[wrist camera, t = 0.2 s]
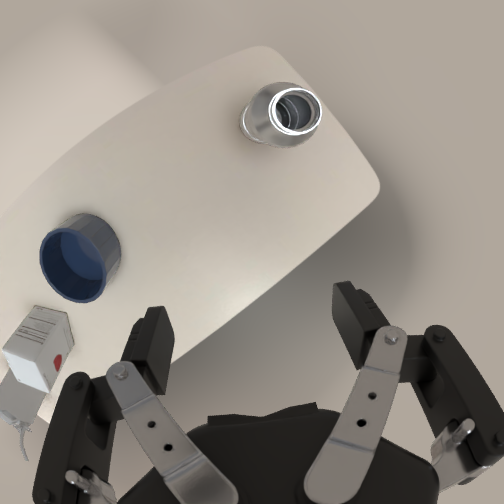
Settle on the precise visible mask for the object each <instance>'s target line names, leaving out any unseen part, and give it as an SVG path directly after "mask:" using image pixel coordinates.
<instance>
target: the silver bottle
mask: <svg viewBox="0 0 504 504" xmlns="http://www.w3.org/2000/svg"><path fill="white" fill-rule="evenodd" d="M321 117H322V107H321V104H320V102H319V100H318V99H317V97H316V96H315V95H314V94H313V93H311V92H309V91H308V90H306V89H304V88H302V87H301V86H298V85H296V84H293V83H288V82H277V83H272V84H269V85H267V86H265V87H263V88H262V89H260V90H259V91H258V92H257V93H256V94H255V95H254V96H253V98H252V100H251V101H250V102H249V103H247V104H246V105H245V106H244V108H243V109H242V111H241V114H240V119H239V122H240V127H241V130H242V132H243V133H244V134H245V136H246V137H247V138H249V139H250V140H252V141H254V142H257V143H261V144H268V145H270V146H274V147H278V148H291V147H296V146H298V145H301V144H303V143H304V142H306V141H307V140H308V139H309V138H310V137H311V136H312V135H313V134H314V132H315V131H316V129H317V126H318V124H319V122H320V120H321Z"/></svg>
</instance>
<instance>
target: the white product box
mask: <svg viewBox="0 0 504 504" xmlns="http://www.w3.org/2000/svg"><path fill="white" fill-rule="evenodd" d="M73 346H74V342H73V338H72V335H71V331H70V327H69V323H68V319H67V315H66V313H64V312H59V311H55V310H51V309H47V308H42V307H38V306H35V307H34V308H33V309H32V310H31V312H30V313H29V314H28V315H27V316H26V318H25V319H24V320H23V322H22V323H21V324H20V325H19V327H18V328H17V329H16V330H15V332H14V333H13V334H12V336H11V337H10V338H9V340H8V341H7V342H6V344H5V345H4V346H3V348H2V351H3V353H4V355H5V357H6V360H7V362H8V364H9V367H10V368H11V370H12V372H13V374H14V376H15V377H16V379H17V381H19V382H21V383H24V384H26V385H29V386H31V387H34V388H36V389H38V390H41V391H43V392H47V393H50V391H51V389H52V387H53V385H54V383H55V381H56V379H57V377H58V374H59V372H60V370H61V368H62V367H63V365H64V363H65V361H66V359H67V357H68V355H69V353H70V351H71V349H72V347H73Z"/></svg>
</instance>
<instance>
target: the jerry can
mask: <svg viewBox="0 0 504 504" xmlns="http://www.w3.org/2000/svg"><path fill="white" fill-rule="evenodd" d="M45 395H46V392H43V391H41V390H38V389H36V388H34V387H31V386H29V385H26V384H24V383H21V382H19V381H17V379H16V377H15V376H14V374H13V372H12V370H11V368H10V369H9V371H8V372H7V374H6V376H5V377H4V379H3V381H2V382H1V384H0V417H1V418H2V419H3V420H4V421H6V422H7V423H8V424H10V425H13V426H14V425H16V426H14V427H15V428H16V429H17V430H18V432H19V433H20V447H21V451H22V453H23V456H24V458H25V460H26V461H28V458H27V455H26V452H25V449H24V446H23V436H24V433H25V430H27V431H30V428H29V427H28V426H30V425H31V424H32V423H33V422H34V419H35V417H36V415H37V412H38V410H39V408H40V405H41V403H42V401H43V399H44V397H45ZM14 423H17V424H19V425H17V424H14ZM21 427H22V428H21ZM28 429H29V430H28ZM30 432H32V431H30Z"/></svg>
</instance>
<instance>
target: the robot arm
mask: <svg viewBox="0 0 504 504" xmlns="http://www.w3.org/2000/svg"><path fill="white" fill-rule="evenodd" d="M332 316H333V320H334V323H335V325H336V326H337V329H338V331H339V333H340V335H341V337H342V339H343V342H344V344H345V346H346V348H347V350H348V352H349V354H350V356H351V359H352V361H353V363H354V365H355V368H356V369H357V370H359V369H361V370H360V372H359V375H358V377H357V379H356V382H355V384H354V386H353V389H352V391H351V393H350V395H349V398H348V400H347V402H346V404H345V406H344V408H343V411H342V413H339V412H336V411H331V410H325V409H318V408H317V405H316V402H313V403H308V404H304V405H298V406H292V407H288V408H285V409H283V410H280V411H278V412H275V413H272V414H270V415H267V416H264V417H256V416H246V415H237V414H229V415H216V416H208V423H207V424H204V425H201V426H198V427H196V428H194V429H192V430H191V431H189V432H188V433H187V434H185V433H184V431H183V430H182V429H181V428H180V427H179V425H178V424H177V423H176V422H175V420H174V419H173V418H172V417H171V415H170V414H169V413H168V411H167V410H166V409H165V407H164V406H163V405H162V403H161V402H160V401H159V399H158V398H157V397H156V396H157V395H165V392H166V386H167V380H168V374H169V369H170V363H171V358H172V353H173V347H174V341H175V338H174V332H173V328H172V326H171V323H170V320H169V317H168V314H167V311H166V309H165V307H164V306H157V307H149V308H148V309H147V312H146V314H145V317H144V318H140V319H139V320H138V321H137V322H136V323H135V324H134V325H133V328H132V330H131V335H130V336H129V338H128V341H127V344H126V346H125V349H124V352H123V355H122V357H121V360H120V362H117V363H115V364H113V365H112V366H111V367H110V368H109V369H108V371H107V373H106V375H105V376H101V377H97V378H93V379H90V377H89V376H88V375H87V374H86V373H84V372H76V373H73V374H71V375H70V376H69V377H68V378H67V379H66V380H65V382H64V385H63V387H62V390H61V393H60V396H59V398H58V401H57V404H56V407H55V410H54V413H53V416H52V419H51V422H50V425H49V428H48V431H47V435H46V438H45V441H44V445H43V449H42V452H41V456H40V460H39V464H38V468H37V473H36V477H35V481H34V486H33V492H32V497H33V501H34V503H35V504H437V500H438V495H439V493H441V492H443V491H444V490H447V489H449V488H450V487H452V486H454V485H456V484H458V485H464V484H467V483H469V482H471V481H472V480H473V479H475V478H476V477H477V476H479V475H480V474H482V473H483V472H484V471H486V470H487V469H488V468H490V467H491V466H492V465H493V464H495V463H496V462H497V461H499V460H500V459H501V458H502V457H503V456H504V412H503V410H502V408H501V407H500V405H499V403H498V402H497V400H496V398H495V396H494V395H493V393H492V392H491V390H490V388H489V387H488V385H487V384H486V382H485V380H484V379H483V377H482V375H481V374H480V372H479V371H478V369H477V368H476V366H475V365H474V363H473V362H472V360H471V359H470V358H469V356H468V354H467V353H466V352H465V350H464V349H463V348H462V346H461V345H460V343H459V342H458V340H457V339H456V338H455V336H454V335H453V333H452V332H451V331H450V330H449V329H448V328H446V327H444V326H441V325H432V326H430V327H428V328H427V329H426V331H425V333H424V335H406V333H405V332H404V331H403V330H402V329H401V328H399V327H396V326H391V325H390V323H389V322H388V320H387V319H386V317H385V316H384V315H383V313H382V312H381V310H380V309H379V308H378V306H377V305H376V303H375V302H374V301H373V299H372V298H371V296H370V295H369V294H368V293H366V292H365V291H363V290H362V289H358V290H356V289H355V288H354V286H353V285H352V283H351V282H350V281H344V282H339V283H334V285H333V298H332ZM405 382H410V383H411V385H412V387H413V389H414V391H415V393H416V395H417V398H418V400H419V402H420V404H421V406H422V408H423V411H424V413H425V415H426V417H427V420H428V422H429V424H430V427H431V429H432V431H433V434H434V436H435V438H436V439H435V441H434V442H433V444H432V447H431V456H432V463H431V464H430V463H429V462H428V461H426V460H425V459H423V458H421V457H419V456H417V455H415V454H413V453H411V452H409V451H407V450H405V449H403V448H402V447H400V446H398V445H396V444H394V443H392V442H390V441H389V440H387V439H385V438H383V437H382V436H381V435H382V432H383V429H384V426H385V424H386V421H387V418H388V415H389V412H390V409H391V406H392V402H393V399H394V396H395V393H396V389H397V386H398V383H405ZM122 419H125V420H126V422H127V424H128V425H129V427H130V429H131V430H132V432H133V434H134V435H135V437H136V439H137V440H138V442H139V444H140V445H141V447H142V448H143V450H144V452H145V453H146V454H147V456H148V458H149V459H150V460H151V462H152V463H153V465H154V467H153V468H152V469H151V470H150V471H149V472H148V473H147V474H146V475H145V476H144V477H143V478H142V479H141V480H140V481H138V482H137V483H136V485H134V486H133V487H132V488H131V489H130V490H129V491H128V492H127V493H126V494H125V495H124V496H123V497H121V498H120V500H119V501H118V502H116V497H115V491H114V489H113V487H112V486H111V484H109V483H108V476H109V468H110V461H111V453H112V447H113V440H114V434H115V429H116V423H117V421H118V420H122Z"/></svg>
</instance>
